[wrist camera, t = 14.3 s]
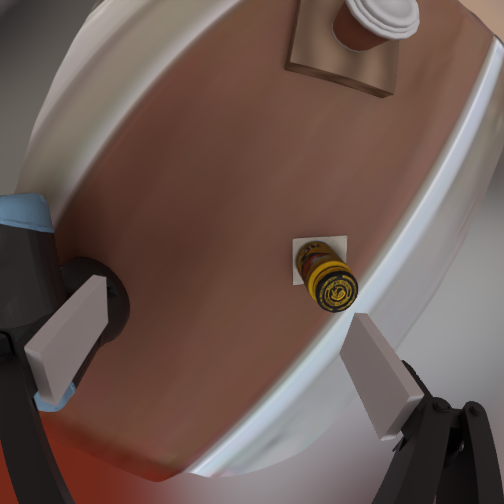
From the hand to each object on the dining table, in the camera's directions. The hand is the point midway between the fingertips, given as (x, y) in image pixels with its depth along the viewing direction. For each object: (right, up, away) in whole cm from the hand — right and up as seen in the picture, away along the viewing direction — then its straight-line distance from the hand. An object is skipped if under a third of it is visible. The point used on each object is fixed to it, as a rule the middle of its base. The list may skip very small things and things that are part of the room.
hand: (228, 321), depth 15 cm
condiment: (+11, +2, +30) cm, 33 cm away
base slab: (+14, +35, +20) cm, 42 cm away
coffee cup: (+15, +33, +16) cm, 40 cm away
